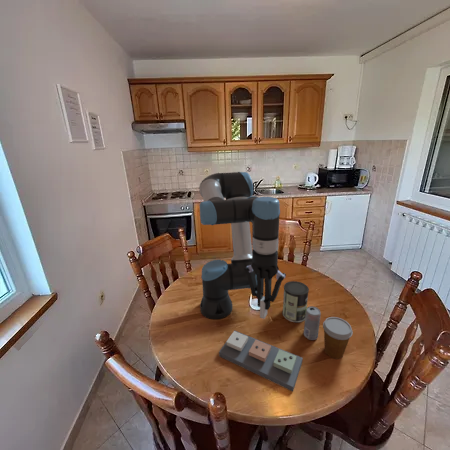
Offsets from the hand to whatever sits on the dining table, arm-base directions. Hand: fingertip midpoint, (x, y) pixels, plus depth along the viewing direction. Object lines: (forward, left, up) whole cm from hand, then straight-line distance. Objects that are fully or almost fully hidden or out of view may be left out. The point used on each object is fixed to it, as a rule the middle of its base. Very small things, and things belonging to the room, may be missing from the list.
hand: (263, 315), depth 78 cm
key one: (-10, 0, -18) cm, 21 cm away
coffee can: (+3, +29, -20) cm, 36 cm away
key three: (+8, 0, -18) cm, 20 cm away
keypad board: (-1, 0, -20) cm, 20 cm away
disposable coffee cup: (+21, +16, -20) cm, 34 cm away
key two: (-1, 0, -18) cm, 18 cm away
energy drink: (+12, +20, -20) cm, 31 cm away
